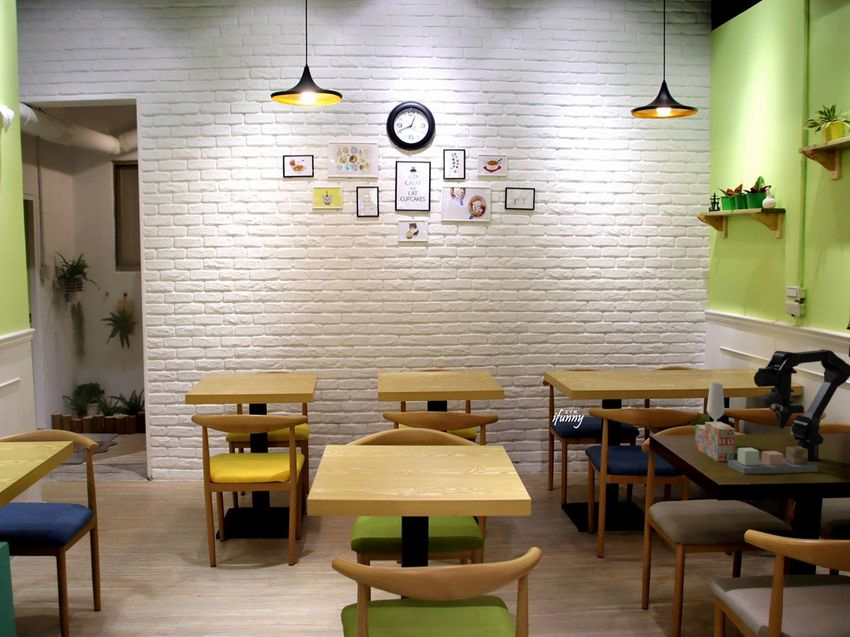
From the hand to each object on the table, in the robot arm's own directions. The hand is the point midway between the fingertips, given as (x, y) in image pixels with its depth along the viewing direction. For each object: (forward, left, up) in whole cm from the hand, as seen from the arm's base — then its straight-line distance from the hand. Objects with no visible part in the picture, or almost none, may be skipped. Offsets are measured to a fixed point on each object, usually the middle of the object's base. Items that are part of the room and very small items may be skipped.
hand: (781, 428), depth 285 cm
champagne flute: (+10, -30, -12) cm, 34 cm away
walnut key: (0, +10, -10) cm, 14 cm away
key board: (+9, +10, -12) cm, 18 cm away
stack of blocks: (+19, -12, -12) cm, 26 cm away
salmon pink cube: (+9, +10, -11) cm, 18 cm away
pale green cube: (+18, +10, -10) cm, 23 cm away
